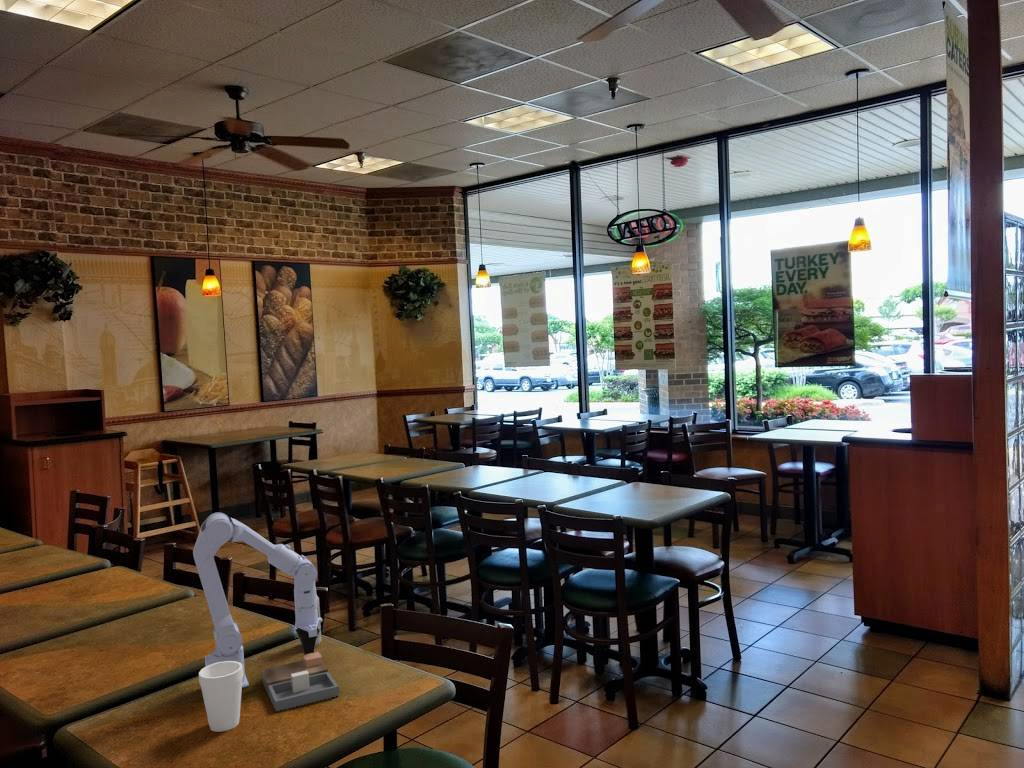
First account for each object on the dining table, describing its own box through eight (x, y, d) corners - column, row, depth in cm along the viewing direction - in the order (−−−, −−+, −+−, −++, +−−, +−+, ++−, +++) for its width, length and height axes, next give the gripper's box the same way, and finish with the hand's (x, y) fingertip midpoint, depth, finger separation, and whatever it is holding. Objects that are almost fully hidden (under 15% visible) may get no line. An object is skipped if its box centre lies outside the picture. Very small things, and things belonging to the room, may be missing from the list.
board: (268, 694, 191) (267, 683, 191) (262, 680, 199) (261, 669, 199) (328, 680, 198) (328, 669, 198) (320, 667, 206) (319, 656, 206)
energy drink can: (315, 649, 219) (312, 597, 219) (296, 648, 221) (293, 597, 220) (325, 641, 225) (322, 590, 225) (306, 640, 226) (303, 590, 226)
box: (276, 711, 182) (275, 701, 182) (268, 695, 191) (268, 685, 191) (338, 696, 188) (338, 686, 188) (328, 681, 198) (328, 671, 197)
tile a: (291, 689, 192) (293, 692, 190) (290, 674, 192) (292, 676, 190) (308, 685, 194) (309, 688, 192) (307, 670, 194) (308, 673, 192)
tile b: (306, 667, 199) (306, 660, 199) (303, 662, 203) (303, 655, 203) (322, 664, 201) (321, 656, 201) (318, 659, 205) (318, 651, 204)
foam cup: (210, 716, 181) (206, 662, 180) (250, 713, 182) (246, 659, 181) (197, 736, 171) (193, 679, 171) (239, 733, 172) (235, 676, 171)
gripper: (327, 609, 201) (330, 660, 201) (314, 595, 214) (317, 642, 214) (300, 615, 198) (303, 666, 198) (288, 599, 211) (291, 648, 211)
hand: (308, 654), depth 206 cm, fingers closed
